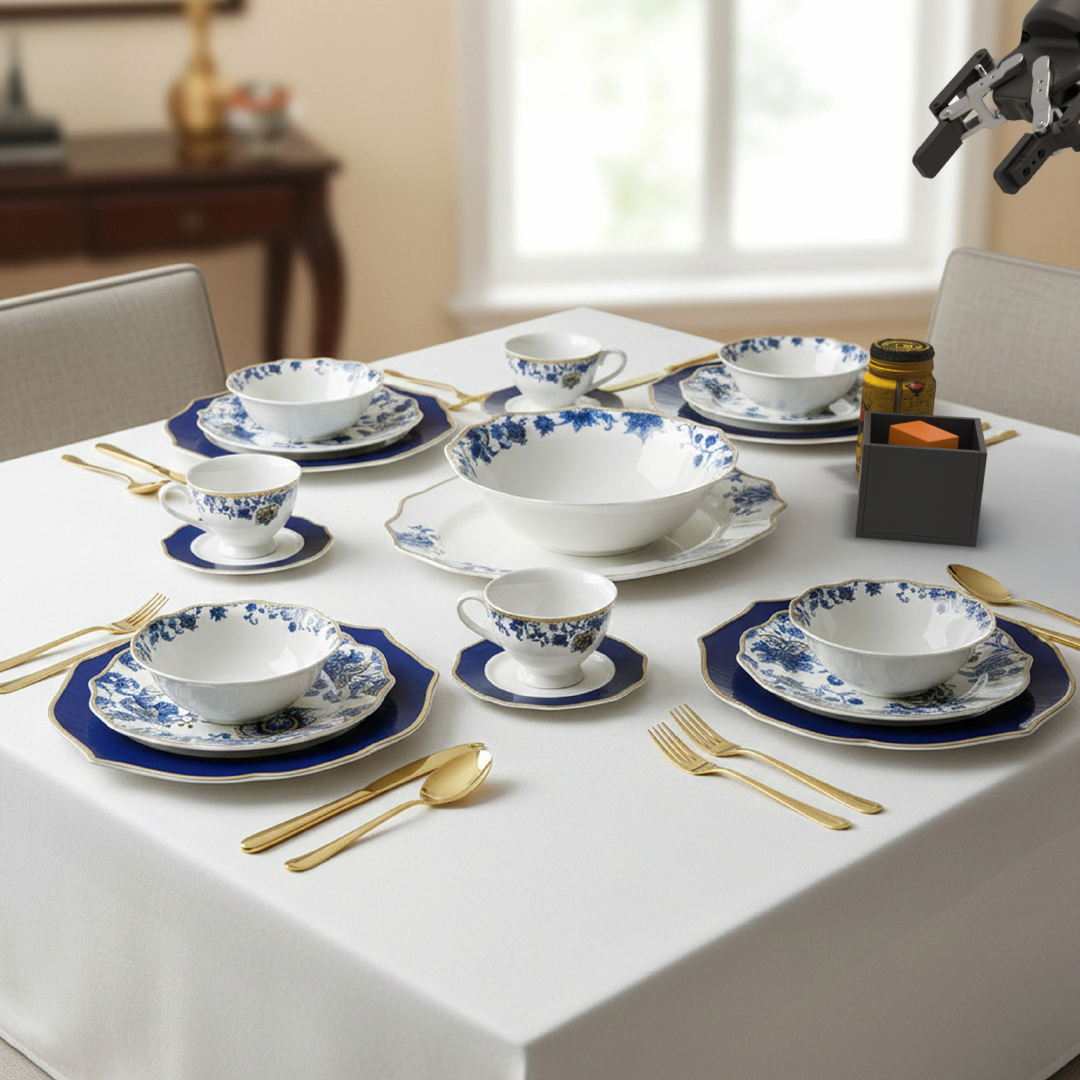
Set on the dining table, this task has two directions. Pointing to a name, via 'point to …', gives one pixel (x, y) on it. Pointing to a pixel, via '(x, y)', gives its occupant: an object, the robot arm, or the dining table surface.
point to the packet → (921, 436)
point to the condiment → (897, 381)
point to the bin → (921, 483)
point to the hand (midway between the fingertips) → (960, 178)
